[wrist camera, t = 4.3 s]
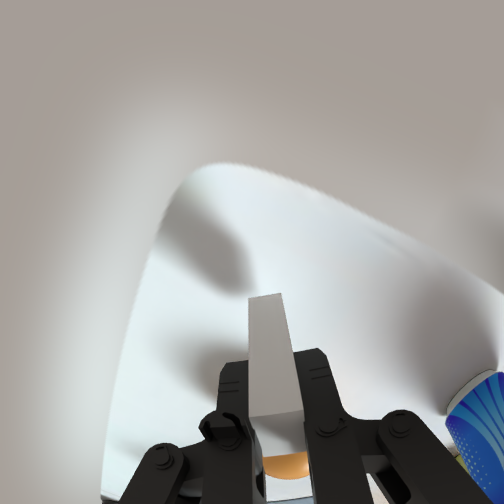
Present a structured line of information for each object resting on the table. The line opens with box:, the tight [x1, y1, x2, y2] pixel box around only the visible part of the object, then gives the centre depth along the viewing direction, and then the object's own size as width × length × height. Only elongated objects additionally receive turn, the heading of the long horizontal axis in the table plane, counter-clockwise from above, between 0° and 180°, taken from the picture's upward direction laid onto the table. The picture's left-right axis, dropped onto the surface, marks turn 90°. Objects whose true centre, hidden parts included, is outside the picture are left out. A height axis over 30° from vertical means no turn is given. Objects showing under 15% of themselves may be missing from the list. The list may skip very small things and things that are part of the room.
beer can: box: [445, 370, 504, 504], centre depth 13 cm, size 8×8×16 cm
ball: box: [262, 451, 310, 480], centre depth 15 cm, size 6×6×6 cm
